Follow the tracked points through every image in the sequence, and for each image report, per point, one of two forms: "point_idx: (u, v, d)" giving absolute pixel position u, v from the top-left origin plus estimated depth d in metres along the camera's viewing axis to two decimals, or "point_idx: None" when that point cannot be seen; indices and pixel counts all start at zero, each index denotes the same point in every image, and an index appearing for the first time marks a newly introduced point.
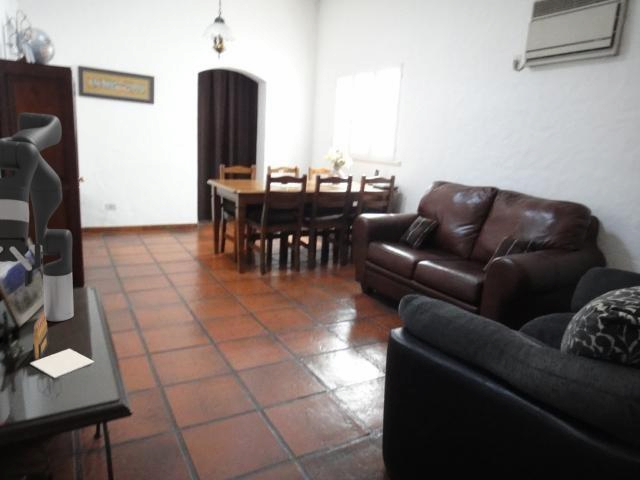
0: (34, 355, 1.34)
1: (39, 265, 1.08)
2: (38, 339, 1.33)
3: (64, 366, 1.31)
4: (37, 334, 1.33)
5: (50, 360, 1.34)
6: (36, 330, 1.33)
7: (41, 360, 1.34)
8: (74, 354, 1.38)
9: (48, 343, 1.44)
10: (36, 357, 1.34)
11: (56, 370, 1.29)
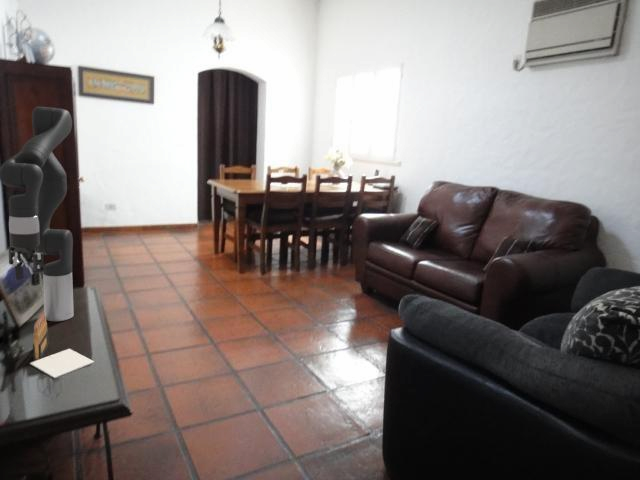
0: (34, 355, 1.34)
1: (35, 271, 1.31)
2: (38, 339, 1.33)
3: (64, 366, 1.31)
4: (37, 334, 1.33)
5: (50, 360, 1.34)
6: (36, 330, 1.33)
7: (41, 360, 1.34)
8: (74, 354, 1.38)
9: (48, 343, 1.44)
10: (36, 357, 1.34)
11: (56, 370, 1.29)
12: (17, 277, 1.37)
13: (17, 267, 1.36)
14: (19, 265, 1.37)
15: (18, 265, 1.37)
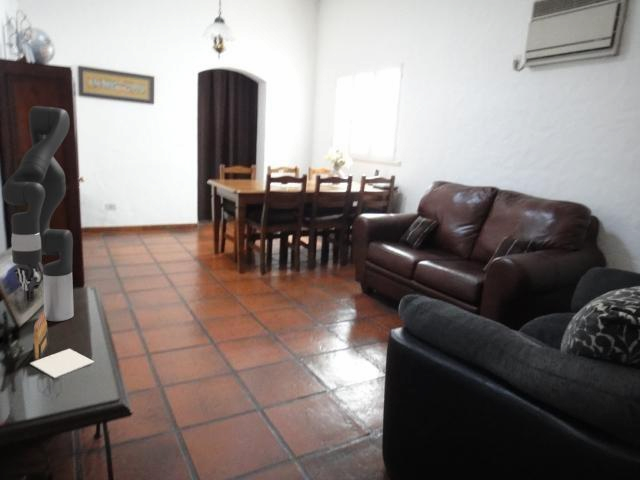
0: (34, 355, 1.34)
1: (29, 289, 1.35)
2: (38, 339, 1.33)
3: (64, 366, 1.31)
4: (37, 334, 1.33)
5: (50, 360, 1.34)
6: (36, 330, 1.33)
7: (41, 360, 1.34)
8: (74, 354, 1.38)
9: (48, 343, 1.44)
10: (36, 357, 1.34)
11: (56, 370, 1.29)
12: None
13: None
14: None
15: None
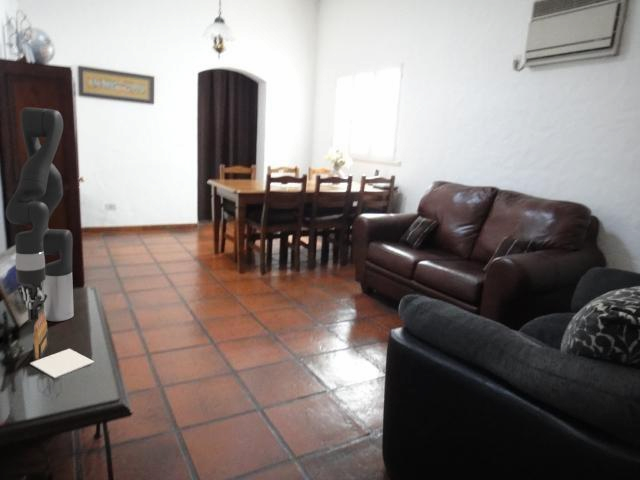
0: (34, 355, 1.34)
1: (33, 308, 1.35)
2: (38, 339, 1.33)
3: (64, 366, 1.31)
4: (37, 334, 1.33)
5: (50, 360, 1.34)
6: (36, 330, 1.33)
7: (41, 360, 1.34)
8: (74, 354, 1.38)
9: (48, 343, 1.44)
10: (36, 357, 1.34)
11: (56, 370, 1.29)
12: None
13: None
14: None
15: None
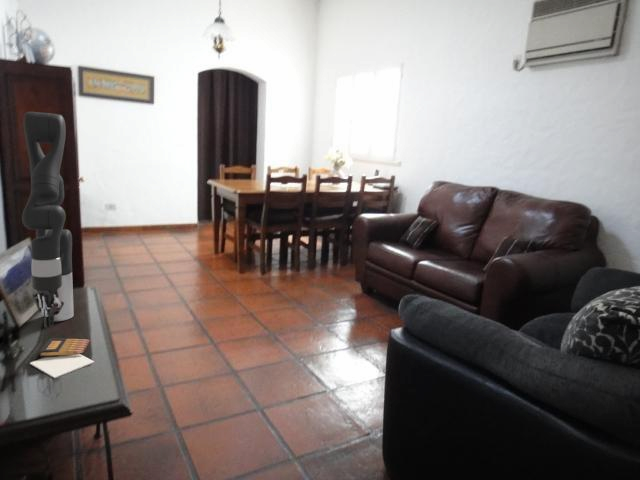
0: (45, 352, 1.35)
1: (49, 315, 1.31)
2: (64, 354, 1.37)
3: (64, 366, 1.31)
4: (70, 353, 1.37)
5: (50, 360, 1.34)
6: (75, 353, 1.38)
7: (41, 360, 1.34)
8: (74, 354, 1.38)
9: None
10: (43, 353, 1.35)
11: (56, 370, 1.29)
12: None
13: None
14: None
15: None
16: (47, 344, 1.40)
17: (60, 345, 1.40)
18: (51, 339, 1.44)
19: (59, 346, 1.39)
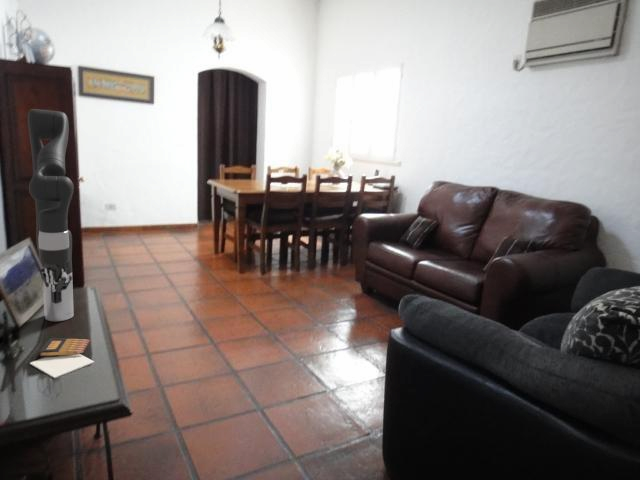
0: (45, 352, 1.35)
1: (57, 290, 1.27)
2: (64, 354, 1.37)
3: (64, 366, 1.31)
4: (70, 353, 1.37)
5: (50, 360, 1.34)
6: (75, 353, 1.38)
7: (41, 360, 1.34)
8: (74, 354, 1.38)
9: None
10: (43, 353, 1.35)
11: (56, 370, 1.29)
12: None
13: None
14: None
15: None
16: (47, 344, 1.40)
17: (60, 345, 1.40)
18: (51, 339, 1.44)
19: (59, 346, 1.39)
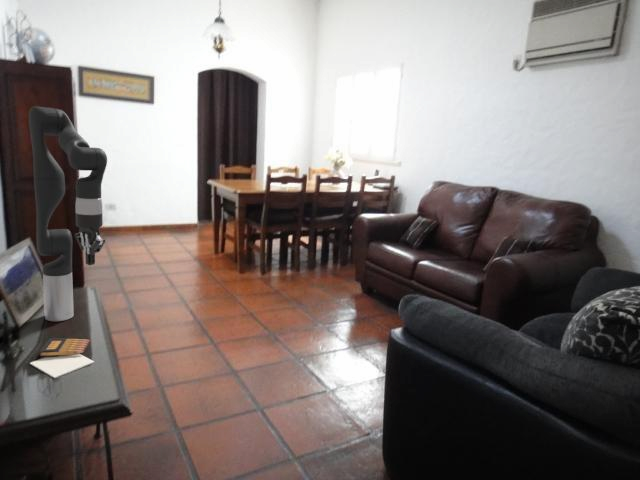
0: (45, 352, 1.35)
1: (91, 252, 1.40)
2: (64, 354, 1.37)
3: (64, 366, 1.31)
4: (70, 353, 1.37)
5: (50, 360, 1.34)
6: (75, 353, 1.38)
7: (41, 360, 1.34)
8: (74, 354, 1.38)
9: None
10: (43, 353, 1.35)
11: (56, 370, 1.29)
12: None
13: None
14: None
15: None
16: (47, 344, 1.40)
17: (60, 345, 1.40)
18: (51, 339, 1.44)
19: (59, 346, 1.39)
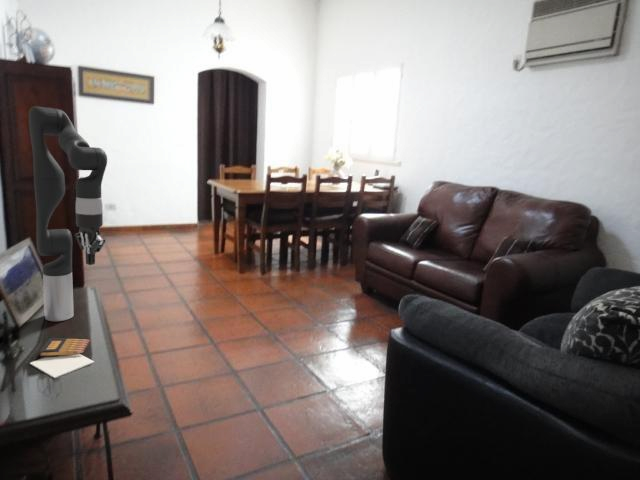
0: (45, 352, 1.35)
1: (92, 252, 1.40)
2: (64, 354, 1.37)
3: (64, 366, 1.31)
4: (70, 353, 1.37)
5: (50, 360, 1.34)
6: (75, 353, 1.38)
7: (41, 360, 1.34)
8: (74, 354, 1.38)
9: None
10: (43, 353, 1.35)
11: (56, 370, 1.29)
12: None
13: None
14: None
15: None
16: (47, 344, 1.40)
17: (60, 345, 1.40)
18: (51, 339, 1.44)
19: (59, 346, 1.39)
